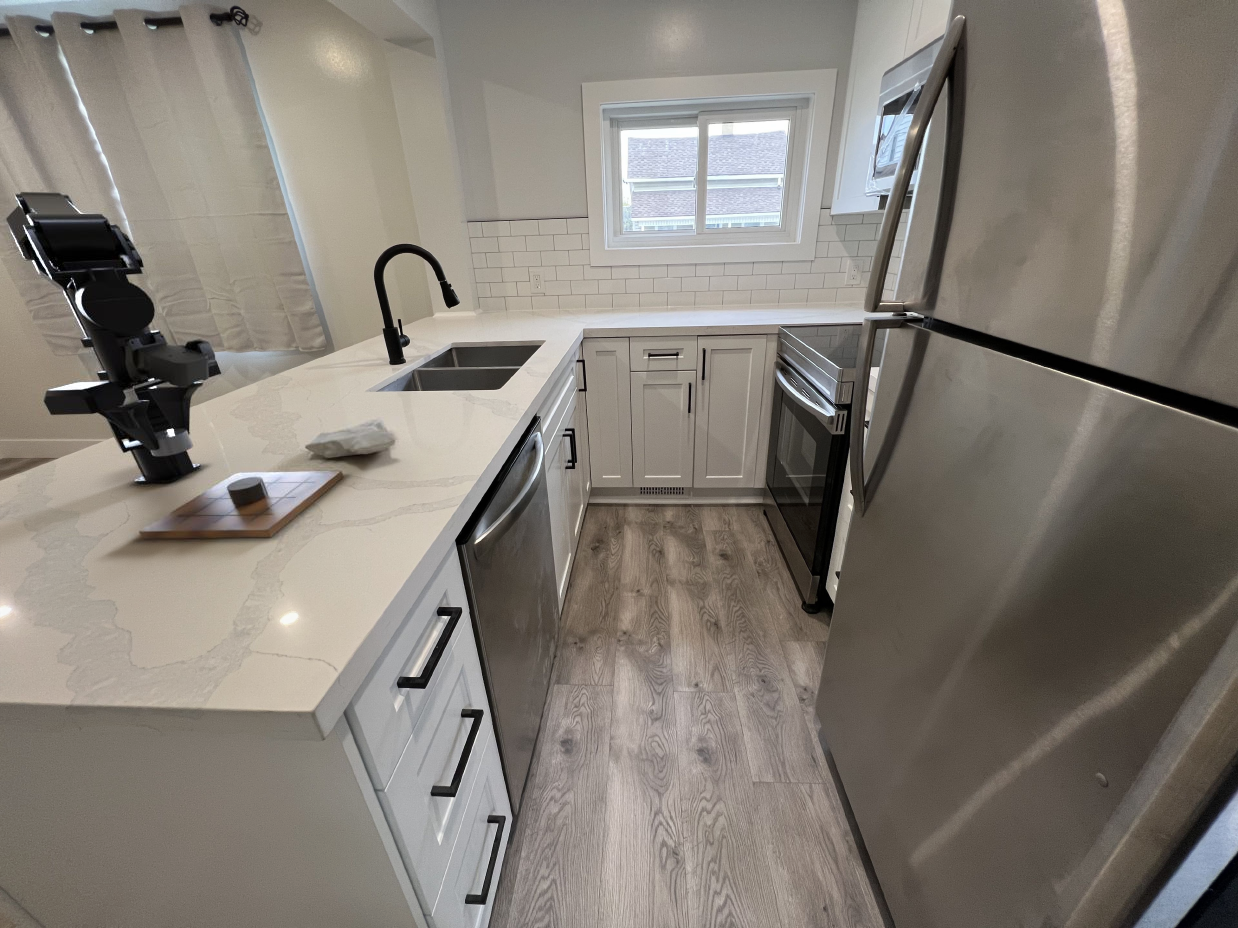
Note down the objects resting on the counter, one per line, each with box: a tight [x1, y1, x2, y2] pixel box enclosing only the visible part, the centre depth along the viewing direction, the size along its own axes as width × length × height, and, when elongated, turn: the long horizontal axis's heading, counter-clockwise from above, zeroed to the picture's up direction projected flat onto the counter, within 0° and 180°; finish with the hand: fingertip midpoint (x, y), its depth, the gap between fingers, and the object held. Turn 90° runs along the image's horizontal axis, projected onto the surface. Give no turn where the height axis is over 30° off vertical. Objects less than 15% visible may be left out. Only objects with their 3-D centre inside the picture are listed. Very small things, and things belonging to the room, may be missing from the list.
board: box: [138, 470, 344, 540], centre depth 74 cm, size 18×18×1 cm
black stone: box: [227, 477, 268, 505], centre depth 74 cm, size 4×4×2 cm
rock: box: [304, 417, 396, 459], centre depth 92 cm, size 21×5×15 cm
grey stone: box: [151, 428, 194, 456], centre depth 68 cm, size 4×4×2 cm
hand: (170, 443), depth 68 cm, fingers closed on grey stone, 4 cm apart
